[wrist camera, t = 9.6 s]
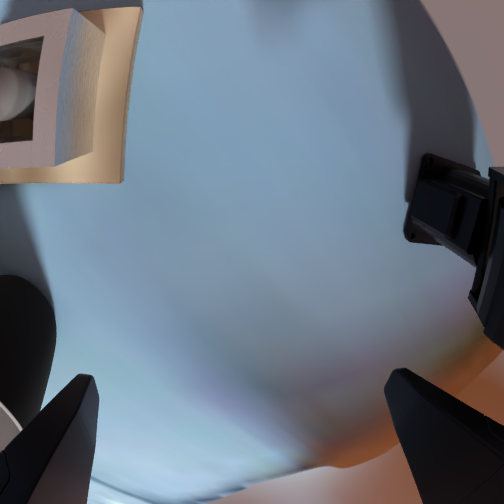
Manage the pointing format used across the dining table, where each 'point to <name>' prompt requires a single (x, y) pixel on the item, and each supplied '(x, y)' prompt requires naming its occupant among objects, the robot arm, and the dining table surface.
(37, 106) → the collar
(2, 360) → the mug
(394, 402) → the robot arm
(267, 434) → the dining table surface
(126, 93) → the shaft block
